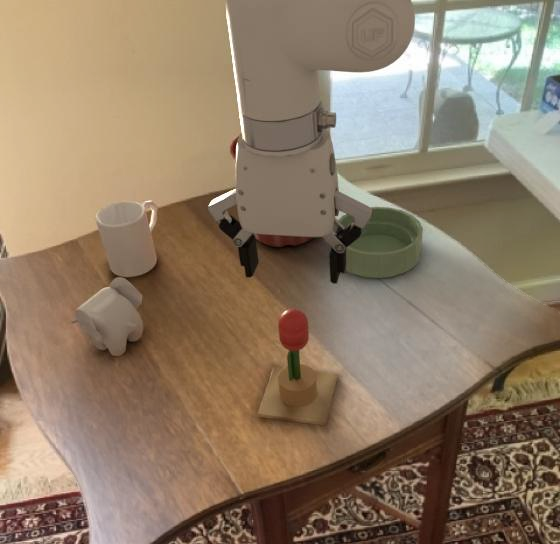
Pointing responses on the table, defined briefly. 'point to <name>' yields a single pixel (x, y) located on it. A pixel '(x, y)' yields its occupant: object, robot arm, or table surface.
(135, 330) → the elephant figurine
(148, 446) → the table surface
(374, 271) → the bowl
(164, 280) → the table surface
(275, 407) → the coaster
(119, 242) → the mug
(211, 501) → the table surface
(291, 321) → the tulip
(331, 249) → the robot arm
